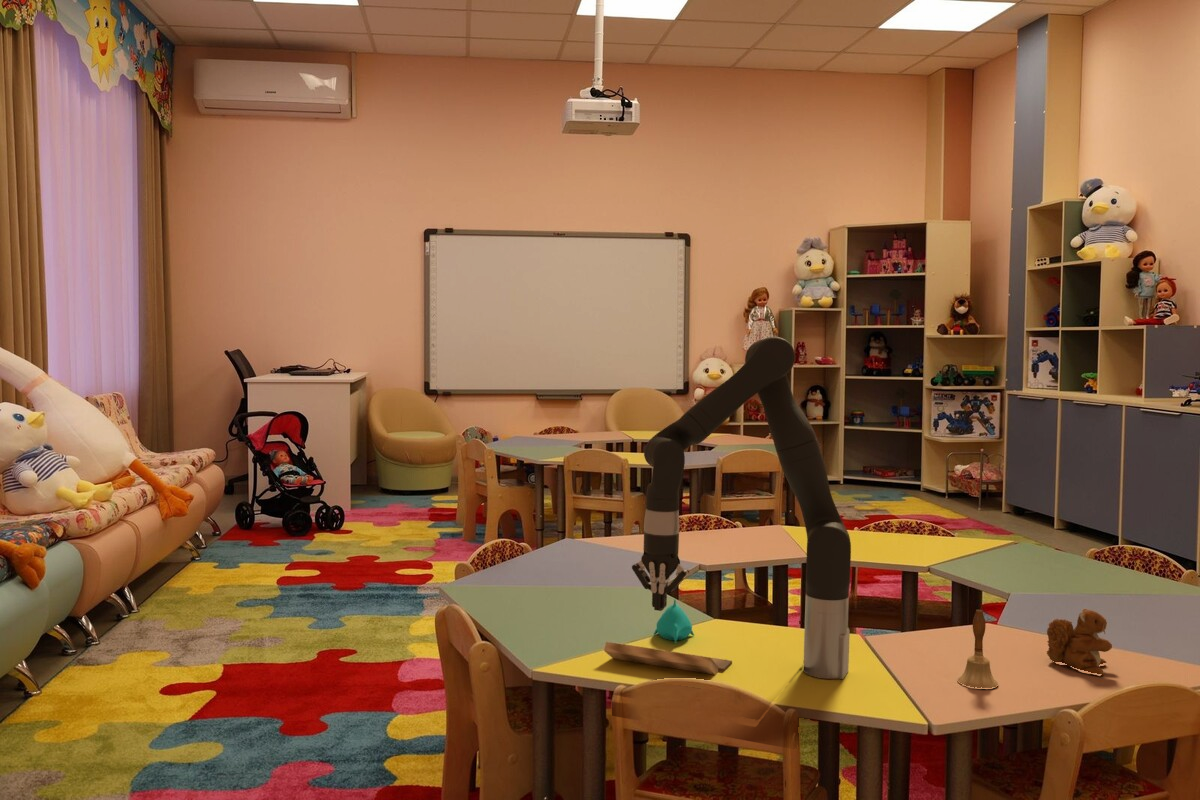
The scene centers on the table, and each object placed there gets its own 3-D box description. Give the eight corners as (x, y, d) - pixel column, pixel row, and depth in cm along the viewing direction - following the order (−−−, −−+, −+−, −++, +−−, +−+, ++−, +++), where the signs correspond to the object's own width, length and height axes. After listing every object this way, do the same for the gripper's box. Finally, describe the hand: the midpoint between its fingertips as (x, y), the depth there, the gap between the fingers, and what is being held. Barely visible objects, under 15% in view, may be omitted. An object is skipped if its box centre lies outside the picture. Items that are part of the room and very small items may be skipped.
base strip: (731, 668, 225) (732, 660, 225) (723, 677, 219) (723, 668, 219) (623, 651, 236) (623, 644, 235) (613, 659, 230) (613, 651, 230)
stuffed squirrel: (1105, 678, 222) (1108, 619, 222) (1037, 665, 231) (1039, 607, 230) (1115, 667, 230) (1118, 610, 229) (1049, 654, 239) (1051, 599, 238)
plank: (717, 676, 218) (718, 667, 219) (708, 667, 213) (710, 657, 214) (614, 659, 228) (616, 651, 229) (604, 650, 223) (606, 641, 223)
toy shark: (692, 632, 252) (693, 589, 251) (696, 655, 234) (697, 609, 233) (653, 631, 252) (653, 588, 252) (654, 654, 234) (655, 608, 234)
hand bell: (973, 691, 213) (976, 616, 212) (949, 678, 221) (952, 606, 220) (1006, 688, 215) (1010, 614, 214) (981, 675, 223) (984, 604, 222)
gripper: (696, 530, 219) (693, 609, 220) (639, 524, 224) (637, 601, 225) (684, 536, 212) (681, 618, 213) (626, 529, 217) (623, 609, 219)
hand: (658, 609), depth 219 cm, fingers closed
